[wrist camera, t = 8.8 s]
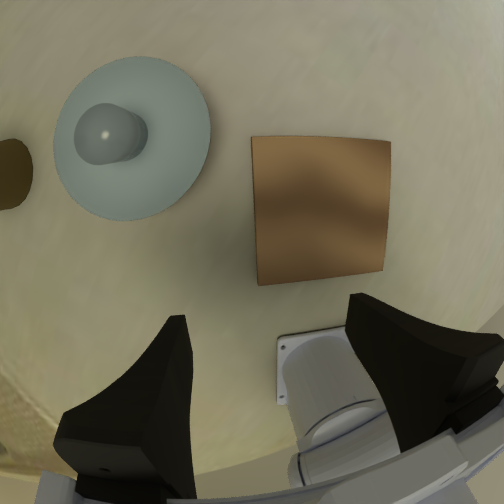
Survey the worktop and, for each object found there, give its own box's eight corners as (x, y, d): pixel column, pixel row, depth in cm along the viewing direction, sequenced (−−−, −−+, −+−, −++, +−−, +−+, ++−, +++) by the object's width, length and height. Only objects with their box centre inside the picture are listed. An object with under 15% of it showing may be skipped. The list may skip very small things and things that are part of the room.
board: (379, 268, 24) (382, 270, 23) (257, 282, 22) (258, 286, 22) (386, 141, 20) (390, 141, 19) (250, 137, 19) (252, 136, 18)
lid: (224, 198, 16) (227, 215, 12) (79, 232, 16) (45, 257, 12) (197, 45, 13) (193, 12, 9) (53, 92, 12) (14, 81, 8)
